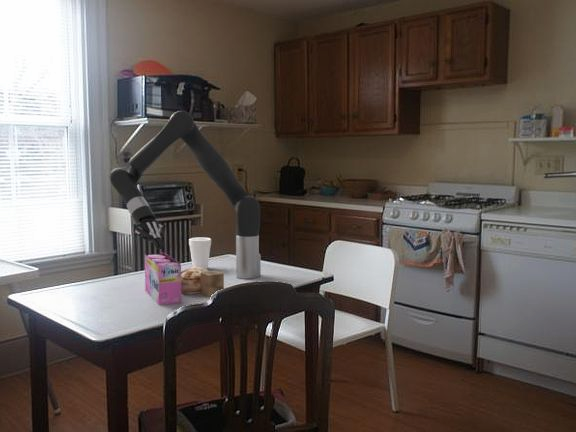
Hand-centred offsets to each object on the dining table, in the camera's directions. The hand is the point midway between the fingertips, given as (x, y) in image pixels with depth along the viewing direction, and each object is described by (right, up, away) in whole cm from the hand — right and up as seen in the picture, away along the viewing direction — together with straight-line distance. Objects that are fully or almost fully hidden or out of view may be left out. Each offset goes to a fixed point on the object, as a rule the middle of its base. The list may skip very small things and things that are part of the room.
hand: (160, 247), depth 195 cm
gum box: (+1, -17, -3) cm, 17 cm away
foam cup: (+7, -12, +43) cm, 45 cm away
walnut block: (+19, -17, -1) cm, 25 cm away
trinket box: (+11, -16, +7) cm, 21 cm away
